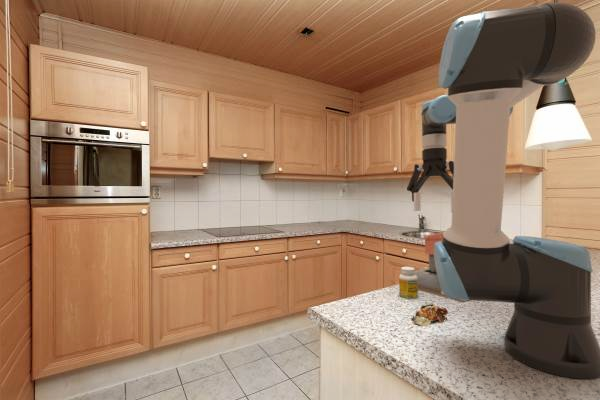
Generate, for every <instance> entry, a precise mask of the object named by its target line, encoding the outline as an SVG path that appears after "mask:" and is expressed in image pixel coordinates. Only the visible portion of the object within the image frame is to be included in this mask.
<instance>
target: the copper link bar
mask: <svg viewBox="0 0 600 400" xmlns="http://www.w3.org/2000/svg"><path fill="white" fill-rule="evenodd" d="M443 233H444V231H443V232H438V233H432V234H424V236H423V240H424V254H426V255H428V267H429V273H434V274H437V272H436V267H435V260H434V244H435V243H436V242H439V241H441V242H443Z"/></svg>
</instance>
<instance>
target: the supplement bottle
mask: <svg viewBox="0 0 600 400" xmlns="http://www.w3.org/2000/svg"><path fill="white" fill-rule="evenodd" d="M415 270H416V269H415V267H413V266H402V267H400V272H401V274H399V276H398V282H399V283H398V286H399V287H398V289H399V296H400V297H401V298H402V299H403V298H404V299H410V300H411V299H412V300H414V299H417V298H419V297H418V296H419V295H418V294H419V293H418V291H419V290H418V280H417V276H416V275H415V274H414V273H415Z"/></svg>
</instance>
